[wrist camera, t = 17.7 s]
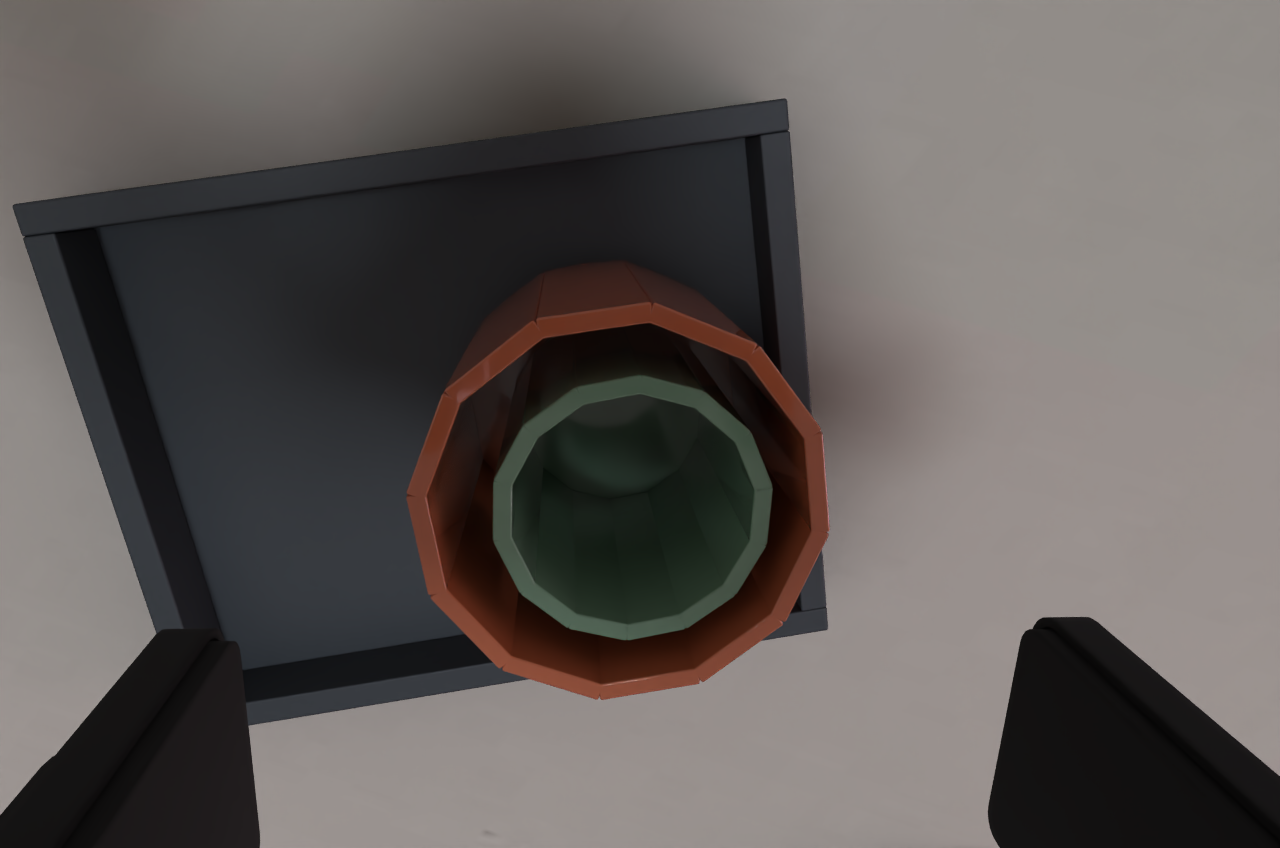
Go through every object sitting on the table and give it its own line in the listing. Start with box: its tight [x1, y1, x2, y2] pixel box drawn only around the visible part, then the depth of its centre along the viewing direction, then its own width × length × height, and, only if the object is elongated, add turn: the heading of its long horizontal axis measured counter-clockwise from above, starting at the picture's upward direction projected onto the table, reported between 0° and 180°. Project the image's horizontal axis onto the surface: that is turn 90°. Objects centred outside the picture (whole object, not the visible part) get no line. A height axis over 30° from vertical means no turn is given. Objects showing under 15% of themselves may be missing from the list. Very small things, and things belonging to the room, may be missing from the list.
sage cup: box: [492, 323, 773, 640], centre depth 22 cm, size 6×6×8 cm
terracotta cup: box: [406, 259, 830, 700], centre depth 22 cm, size 8×8×9 cm
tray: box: [13, 99, 828, 725], centre depth 25 cm, size 16×20×3 cm
